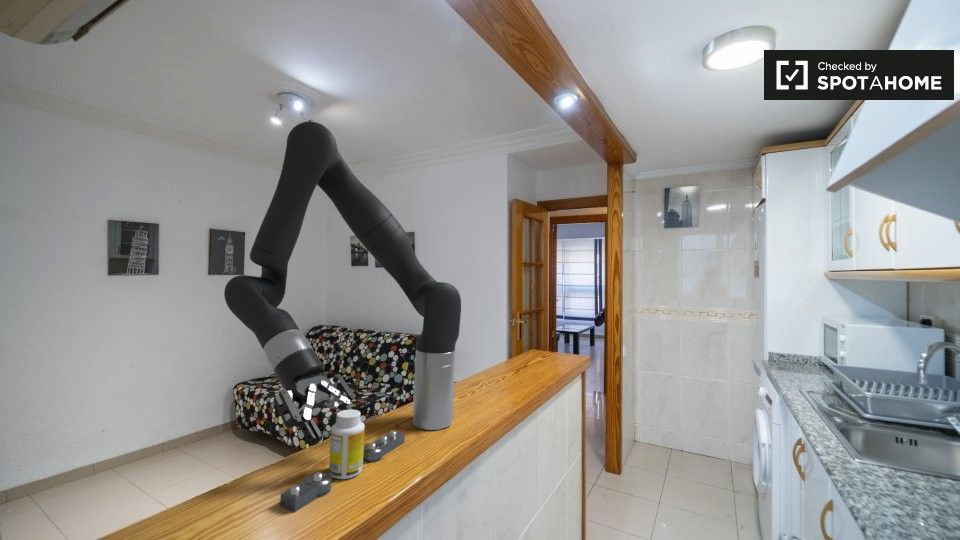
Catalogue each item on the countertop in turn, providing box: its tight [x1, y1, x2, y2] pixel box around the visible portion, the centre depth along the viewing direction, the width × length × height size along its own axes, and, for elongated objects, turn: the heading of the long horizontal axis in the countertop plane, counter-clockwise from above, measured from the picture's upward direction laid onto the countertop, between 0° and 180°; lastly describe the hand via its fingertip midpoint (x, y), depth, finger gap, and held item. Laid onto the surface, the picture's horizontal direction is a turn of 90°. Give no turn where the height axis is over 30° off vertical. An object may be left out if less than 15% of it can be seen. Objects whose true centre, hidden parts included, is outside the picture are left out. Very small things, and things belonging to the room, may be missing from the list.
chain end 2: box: [363, 430, 406, 463], centre depth 76 cm, size 10×4×3 cm, turn 156°
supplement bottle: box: [328, 409, 366, 480], centre depth 67 cm, size 6×6×10 cm
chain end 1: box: [279, 471, 332, 513], centre depth 60 cm, size 8×4×3 cm, turn 156°
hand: (337, 433), depth 68 cm, fingers open, 8 cm apart
